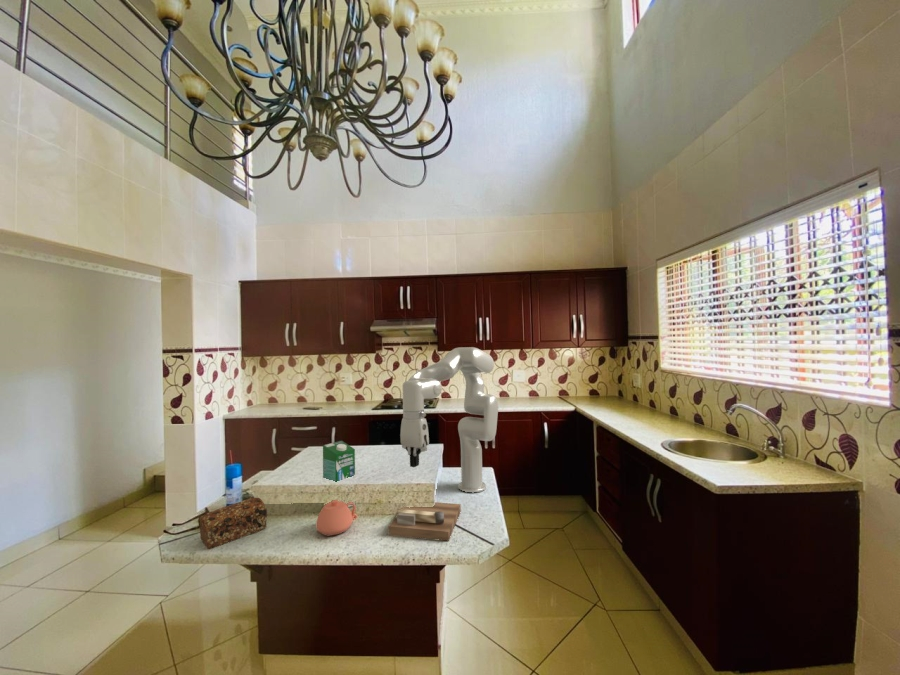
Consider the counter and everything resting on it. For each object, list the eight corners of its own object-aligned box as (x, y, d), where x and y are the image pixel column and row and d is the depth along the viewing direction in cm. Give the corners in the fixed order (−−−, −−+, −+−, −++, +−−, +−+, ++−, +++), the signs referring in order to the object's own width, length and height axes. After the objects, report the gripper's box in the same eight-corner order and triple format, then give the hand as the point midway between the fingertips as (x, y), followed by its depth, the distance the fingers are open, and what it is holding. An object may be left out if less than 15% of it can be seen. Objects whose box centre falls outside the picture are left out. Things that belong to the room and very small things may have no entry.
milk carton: (336, 513, 137) (336, 448, 138) (323, 507, 143) (322, 444, 144) (355, 505, 144) (354, 443, 145) (342, 499, 150) (341, 440, 151)
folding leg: (444, 519, 123) (444, 511, 123) (442, 524, 120) (442, 515, 120) (400, 515, 127) (400, 507, 127) (396, 519, 124) (396, 511, 124)
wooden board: (409, 507, 141) (408, 492, 141) (460, 512, 136) (460, 496, 136) (388, 535, 120) (388, 517, 121) (448, 541, 116) (448, 522, 116)
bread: (258, 520, 133) (258, 493, 134) (268, 529, 126) (268, 501, 126) (198, 540, 120) (198, 510, 120) (206, 551, 113) (206, 520, 113)
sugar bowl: (314, 526, 127) (314, 497, 128) (353, 517, 134) (353, 490, 134) (318, 542, 116) (318, 511, 117) (361, 532, 123) (360, 502, 123)
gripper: (436, 414, 127) (437, 466, 127) (404, 411, 135) (405, 460, 135) (423, 418, 121) (424, 472, 120) (391, 414, 129) (391, 465, 128)
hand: (414, 465), depth 128 cm, fingers closed
